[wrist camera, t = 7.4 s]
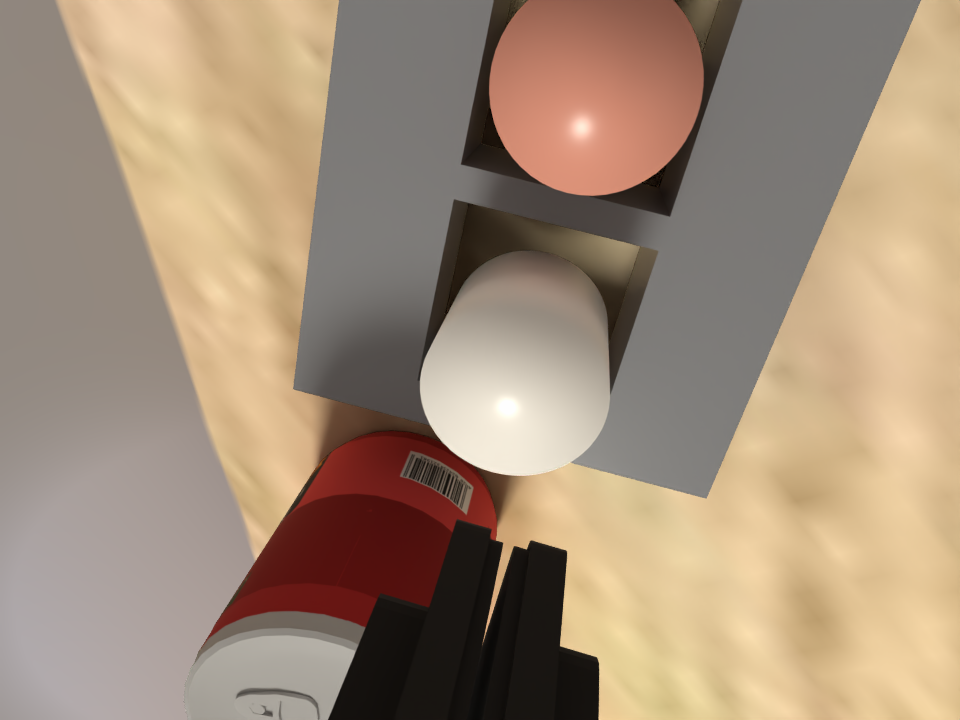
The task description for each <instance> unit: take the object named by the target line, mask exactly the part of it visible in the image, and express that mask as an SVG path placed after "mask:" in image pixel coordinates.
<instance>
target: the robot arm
mask: <svg viewBox="0 0 960 720" xmlns="http://www.w3.org/2000/svg"><path fill="white" fill-rule="evenodd" d="M491 531H492V529H490V528H487V527H483V526H480V525H476V524H473V523H469V522H466V521H463V520H459V519H457V520H456V523H455V526H454V529H453V532H452V535H451V539H450V542H449V545H448V548H447V551H446V555H445V558H444V561H443V564H442V567H441V571H440V574H439V577H438V580H437V583H436V587H435V590H434V593H433V596H432V599H431V603H430V606H429V607H426V606H422V605H419V604H416V603H412V602H409V601H406V600H402V599H399V598H395V597H392V596H389V595H385V594H382V593H380V595H379V597H378V599H377V601H376V603H375V605H374V608H373V610H372V613H371V615H370V618H369V620H368V623H367V625H366V627H365V630H364V632H363V635H362V637H361V640H360V642H359V645H358V647H357V650H356V652H355V654H354V657H353V659H352V662H351V664H350V667H349V669H348V672H347V674H346V676H345V679H344V681H343V684H342V686H341V689H340V691H339V694H338V696H337V699H336V701H335V703H334V706H333V708H332V711H331V713H330V716H329V718H328V720H598V715H599V662H598V659H597V657H594V656H591V655H587V654H584V653H580V652H577V651H574V650H570V649H567V648H564V647H560V637H561V625H562V612H563V600H564V588H565V575H566V563H567V551H566V550H562V549H559V548H555V547H552V546H549V545H545V544H542V543H538V542H535V541H530V543H529V545H528V548H527V550H526V549H523V548H519V547H516V546H514V548H513V551H512V554H511V557H510V560H509V563H508V566H507V569H506V572H505V576H504V579H503V582H502V585H501V588H500V591H499V595H498V598H497V601H496V604H495V607H494V610H493V614H492V617H491V620H490V623H489V626H488V629H487V632H486V636H485V639H484V634H485V629H486V624H487V619H488V615H489V610H490V605H491V600H492V595H493V590H494V586H495V581H496V576H497V571H498V566H499V562H500V557H501V552H502V547H503V543H502V542H499V541H495V540H492V539H490V535H491ZM483 639H484V642H483ZM482 644H483V645H482Z"/></svg>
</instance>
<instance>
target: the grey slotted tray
mask: <svg viewBox="0 0 960 720" xmlns="http://www.w3.org/2000/svg"><path fill="white" fill-rule="evenodd" d="M920 1H921V0H720V1H719V4H718V8H717V11H716V14H715V17H714V20H713V23H712V26H711V29H710V32H709V35H708V39H707V42H706V45H705V48H704V51H703V54H702V61H703V70H704V82H703V93H702V100H701V104H700V108H699V112H698V115H697V118H696V120H695V123H694V125H693V128H692V130H691V132H690V133H689V135H688V137H687V139H686V141H685V142H684V144H683V145H682V147H681V148H680V149H679V151H678V152H677V154H676V155H675V156H674V157H673V158H672V159H671V160H670V161H669V162H668V163H667V166H666V169H665V172H664V175H663V178H662V181H661V184H660V187H659V188H658V187H654V186H650V185H646V184H642V183H639V184H637V185H635V186H633V187H631V188H628V189H626V190H623V191H620V192H616V193H611V194H606V195H595V196H588V195H576V194H571V193H566V192H563V191H559V190H556V189H554V188H551V187H549V186H547V185H545V184H543V183H541V182H540V181H538V180H537V179H535V178H534V177H532V176H531V175H529V174H528V173H527V172H526V171H525V170H524V169H522V168H521V167H520V166H519V164H518V163H517V162H516V161H515V160H514V159H513V158H512V156H511V155H510V153H509V152H508V151H507V150H505V149H501V148H497V147H493V146H489V145H485V144H481V141H482V137H483V132H484V127H485V122H486V118H487V113H488V108H489V103H490V96H489V82H490V73H491V66H492V62H493V58H494V54H495V50H496V48H497V46H498V43H499V41H500V38H501V36H502V34H503V32H504V31H505V27H506V23H507V18H508V13H509V8H510V4H511V0H339V6H338V14H337V23H336V31H335V40H334V48H333V57H332V65H331V74H330V82H329V91H328V99H327V108H326V116H325V124H324V133H323V141H322V150H321V158H320V167H319V175H318V184H317V192H316V201H315V209H314V218H313V226H312V235H311V243H310V252H309V260H308V269H307V277H306V285H305V294H304V302H303V311H302V319H301V328H300V336H299V345H298V353H297V362H296V370H295V379H294V387H293V389H294V390H298V391H302V392H305V393H309V394H313V395H317V396H321V397H324V398H328V399H332V400H336V401H339V402H343V403H347V404H351V405H355V406H358V407H362V408H366V409H370V410H373V411H377V412H381V413H385V414H389V415H392V416H396V417H400V418H404V419H407V420H411V421H415V422H419V423H423V424H426V425H430V424H429V421H428V419H427V417H426V415H425V412H424V409H423V405H422V401H421V395H420V378H421V370H422V367H423V363H424V360H425V358H426V355H427V353H428V351H429V349H430V347H431V345H432V343H433V341H434V339H435V337H436V335H437V333H438V331H439V329H440V327H441V326H442V324H443V322H444V317H445V312H446V308H447V303H448V298H449V293H450V289H451V284H452V279H453V274H454V270H455V265H456V260H457V255H458V251H459V246H460V241H461V236H462V232H463V227H464V222H465V217H466V213H467V208H468V203H471V204H475V205H479V206H483V207H487V208H491V209H495V210H499V211H503V212H507V213H511V214H515V215H519V216H523V217H527V218H530V219H534V220H538V221H542V222H546V223H550V224H554V225H558V226H562V227H566V228H570V229H574V230H578V231H582V232H586V233H590V234H594V235H598V236H602V237H606V238H610V239H614V240H618V241H622V242H626V243H630V244H634V245H638V246H640V249H639V252H638V256H637V259H636V262H635V265H634V268H633V271H632V274H631V277H630V280H629V283H628V287H627V290H626V293H625V296H624V299H623V302H622V305H621V308H620V311H619V314H618V318H617V321H616V324H615V327H614V330H613V333H612V336H611V339H610V342H609V376H610V404H609V410H608V414H607V418H606V421H605V423H604V426H603V428H602V430H601V432H600V433H599V435H598V437H597V438H596V440H595V441H594V442H593V443H592V445H591V446H590V447H589V448H588V449H587V450H586V451H585V452H584V453H583V454H582V455H580V456H579V457H578V458H576V459H575V460H573V461H572V462H570V463H574V464H578V465H581V466H585V467H589V468H593V469H597V470H600V471H604V472H608V473H612V474H615V475H619V476H623V477H627V478H631V479H634V480H638V481H642V482H646V483H649V484H653V485H657V486H661V487H665V488H668V489H672V490H676V491H680V492H684V493H687V494H691V495H695V496H699V497H702V498H707V496H708V494H709V491H710V489H711V487H712V484H713V482H714V480H715V477H716V475H717V473H718V470H719V468H720V466H721V464H722V461H723V459H724V457H725V454H726V452H727V450H728V447H729V445H730V443H731V440H732V438H733V436H734V433H735V431H736V429H737V426H738V424H739V422H740V419H741V417H742V415H743V412H744V410H745V408H746V405H747V403H748V401H749V398H750V396H751V394H752V391H753V389H754V387H755V385H756V382H757V380H758V378H759V375H760V373H761V371H762V368H763V366H764V364H765V361H766V359H767V357H768V354H769V352H770V350H771V347H772V345H773V343H774V340H775V338H776V336H777V333H778V331H779V329H780V326H781V324H782V322H783V319H784V317H785V315H786V313H787V310H788V308H789V306H790V303H791V301H792V299H793V296H794V294H795V292H796V289H797V287H798V285H799V282H800V280H801V278H802V275H803V273H804V271H805V268H806V266H807V264H808V261H809V259H810V257H811V254H812V252H813V250H814V247H815V245H816V243H817V241H818V238H819V236H820V234H821V231H822V229H823V227H824V224H825V222H826V220H827V217H828V215H829V213H830V210H831V208H832V206H833V203H834V201H835V199H836V196H837V194H838V192H839V189H840V187H841V185H842V182H843V180H844V178H845V175H846V173H847V171H848V169H849V166H850V164H851V162H852V159H853V157H854V155H855V152H856V150H857V148H858V145H859V143H860V141H861V138H862V136H863V134H864V131H865V129H866V127H867V124H868V122H869V120H870V117H871V115H872V113H873V110H874V108H875V106H876V103H877V101H878V99H879V96H880V94H881V92H882V90H883V87H884V85H885V83H886V80H887V78H888V76H889V73H890V71H891V69H892V66H893V64H894V62H895V59H896V57H897V55H898V52H899V50H900V48H901V45H902V43H903V41H904V38H905V36H906V34H907V31H908V29H909V27H910V24H911V22H912V20H913V18H914V15H915V13H916V11H917V8H918V6H919V4H920ZM430 426H431V425H430Z"/></svg>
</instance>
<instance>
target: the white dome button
mask: <svg viewBox="0 0 960 720" xmlns="http://www.w3.org/2000/svg"><path fill="white" fill-rule="evenodd" d="M420 395H421V401H422V405H423V409H424V412H425V415H426V417H427V419H428V421H429V424H430V425H431V427H432V429H433V430H434V432H435V433H436V435H437V436H438V437H439V438H440V440H441V441H442V442H443V443H444V444H445V445H446V446H447V447H448V448H449V449H450V450H451V451H452V452H454V453H455V454H456V455H458V456H459V457H460V458H462V459H464V460H465V461H467V462H469V463H470V464H472V465H475V466H477V467H479V468H481V469H484V470H487V471H490V472H494V473H499V474H504V475H513V476H528V475H536V474H542V473H546V472H550V471H553V470H555V469H558V468H560V467H563V466H564V465H566V464H568V463H570V462H572V461H573V460H575V459H576V458H578V457H579V456H580V455H582V454H583V453H584V452H585V451H586V450H587V449H588V448H589V447H590V446H591V445H592V443H593V442H594V441H595V440H596V438H597V437H598V435H599V433H600V432H601V430H602V428H603V426H604V423H605V421H606V418H607V414H608V410H609V404H610V376H609V345H608V318H607V312H606V307H605V304H604V301H603V298H602V296H601V294H600V292H599V290H598V289H597V287H596V286H595V284H594V283H593V281H592V280H591V279H590V278H589V277H588V276H587V275H586V273H584V272H583V271H582V270H581V269H580V268H578V267H577V266H576V265H574V264H573V263H571V262H570V261H568V260H566V259H564V258H561V257H559V256H557V255H553V254H550V253H546V252H541V251H530V250H525V251H515V252H510V253H505V254H503V255H500V256H497V257H495V258H493V259H491V260H489V261H487V262H485V263H484V264H482V265H481V266H479V267H478V268H477V269H476V270H475V271H474V272H473V273H472V274H471V275H470V276H469V277H468V278H467V280H466V281H465V282H464V284H463V286H462V287H461V289H460V291H459V293H458V295H457V296H456V298H455V300H454V302H453V304H452V306H451V308H450V310H449V312H448V314H447V316H446V318H445V320H444V322H443V324H442V326H441V327H440V329H439V331H438V333H437V335H436V337H435V339H434V341H433V343H432V345H431V347H430V349H429V351H428V353H427V355H426V358H425V360H424V363H423V367H422V370H421V378H420Z"/></svg>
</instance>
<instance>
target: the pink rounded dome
mask: <svg viewBox="0 0 960 720" xmlns="http://www.w3.org/2000/svg"><path fill="white" fill-rule="evenodd" d="M703 82H704V70H703V61H702V54H701V51H700V47H699V43H698V40H697V37H696V35H695V32H694V30H693V27H692V26H691V24H690V22H689V20H688V19H687V17H686V15H685V14H684V12H683V11H682V10H681V9H680V7H679V6H678V5H677V4H676V2H675V1H673V0H528V1H527V2H526V3H525V4H524V5H523V6H522V7H521V8H520V9H519V10H518V11H517V13H516V14H515V15H514V17H513V18H512V19H511V21H510V22H509V23H508V25H507V27H506V29H505V31H504V32H503V34H502V36H501V38H500V41H499V43H498V46H497V48H496V50H495V54H494V58H493V62H492V66H491V73H490V82H489V96H490V106H491V111H492V116H493V120H494V123H495V126H496V129H497V132H498V134H499V136H500V138H501V140H502V142H503V144H504V146H505V148H506V149H507V151H508V152H509V153H510V155H511V156H512V158H513V159H514V160H515V161H516V162H517V163H518V164H519V166H520V167H521V168H522V169H524V170H525V171H526V172H527V173H528V174H529V175H531V176H532V177H534V178H535V179H537V180H538V181H540V182H541V183H543V184H545V185H547V186H549V187H551V188H554V189H556V190H559V191H563V192H566V193H571V194H576V195H588V196H595V195H606V194H611V193H616V192H620V191H623V190H626V189H628V188H631V187H633V186H635V185H637V184H639V183H641V182H643V181H645V180H647V179H648V178H650V177H651V176H653V175H654V174H656V173H657V172H658V171H659V170H660V169H662V168H663V167H664V166H665V165H666V164H667V163H668V162H669V161H670V160H671V159H672V158H673V157H674V156H675V155H676V154H677V152H678V151H679V149H680V148H681V147H682V145H683V144H684V142H685V141H686V139H687V137H688V135H689V133H690V132H691V130H692V128H693V125H694V123H695V120H696V118H697V115H698V112H699V108H700V104H701V100H702V93H703Z"/></svg>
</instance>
